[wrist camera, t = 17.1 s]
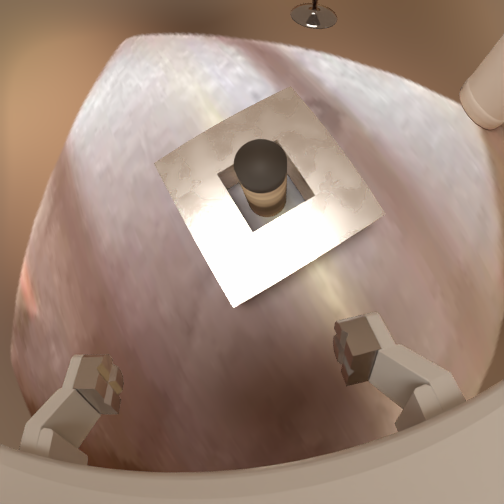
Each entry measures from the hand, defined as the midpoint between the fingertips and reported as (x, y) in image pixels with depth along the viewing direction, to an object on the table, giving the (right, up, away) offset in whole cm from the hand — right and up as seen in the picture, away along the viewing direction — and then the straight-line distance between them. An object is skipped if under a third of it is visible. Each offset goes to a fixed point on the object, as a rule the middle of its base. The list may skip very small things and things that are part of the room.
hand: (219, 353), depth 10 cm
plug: (+3, +9, +22) cm, 24 cm away
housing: (+3, +9, +22) cm, 24 cm away
